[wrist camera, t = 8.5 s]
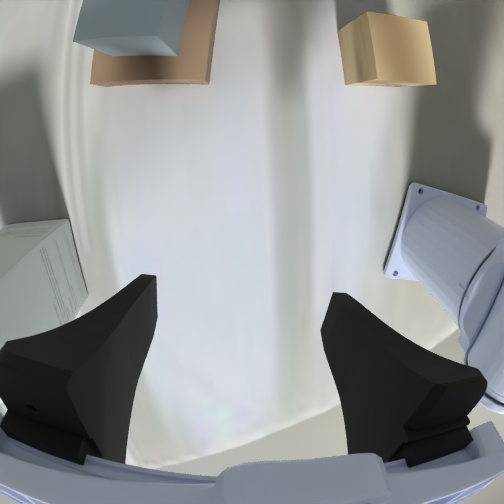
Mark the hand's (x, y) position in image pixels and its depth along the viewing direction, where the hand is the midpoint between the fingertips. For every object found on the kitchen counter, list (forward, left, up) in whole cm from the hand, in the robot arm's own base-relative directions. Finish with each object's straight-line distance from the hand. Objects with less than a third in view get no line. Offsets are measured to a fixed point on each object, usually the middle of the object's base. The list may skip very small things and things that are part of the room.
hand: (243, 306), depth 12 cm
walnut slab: (+7, -12, -10) cm, 17 cm away
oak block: (-7, -13, -10) cm, 18 cm away
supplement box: (+16, +5, -10) cm, 20 cm away
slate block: (+7, -12, -7) cm, 16 cm away
